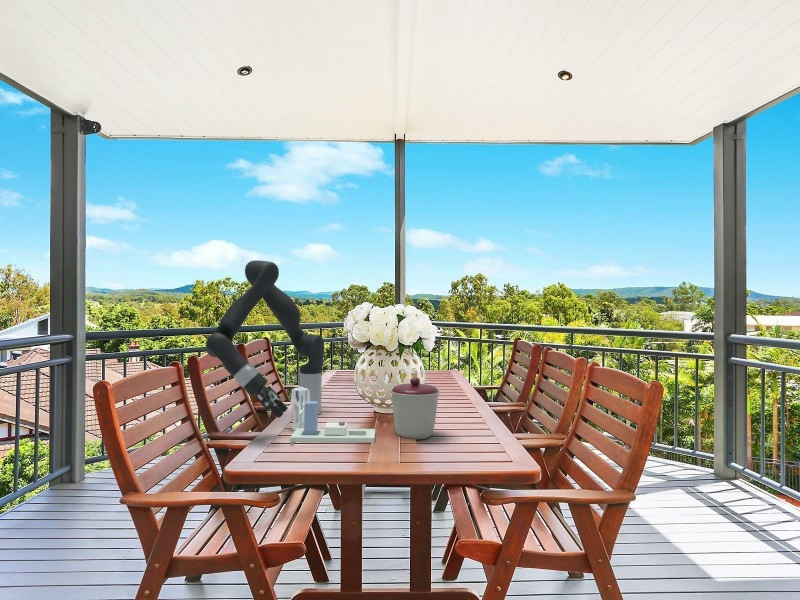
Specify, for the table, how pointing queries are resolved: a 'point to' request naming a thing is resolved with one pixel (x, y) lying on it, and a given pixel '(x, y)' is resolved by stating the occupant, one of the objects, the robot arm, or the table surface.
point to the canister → (414, 409)
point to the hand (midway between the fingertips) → (283, 413)
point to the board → (335, 436)
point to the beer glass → (299, 405)
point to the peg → (310, 417)
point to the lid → (335, 428)
